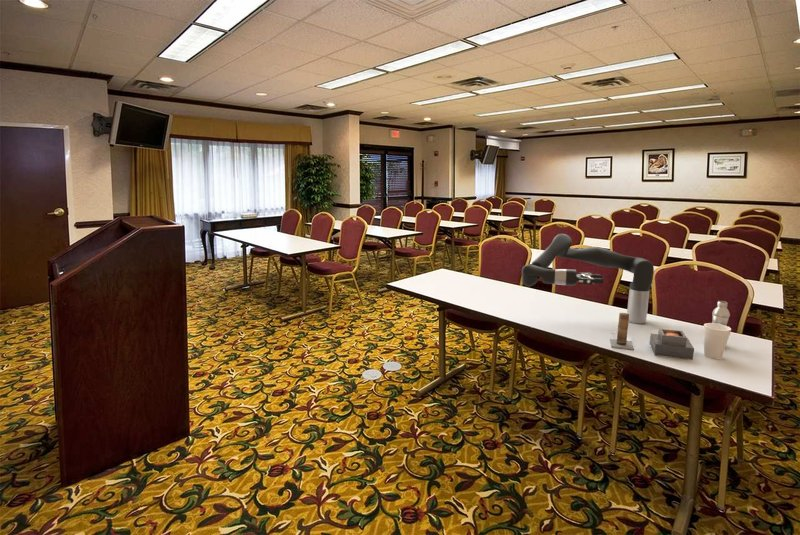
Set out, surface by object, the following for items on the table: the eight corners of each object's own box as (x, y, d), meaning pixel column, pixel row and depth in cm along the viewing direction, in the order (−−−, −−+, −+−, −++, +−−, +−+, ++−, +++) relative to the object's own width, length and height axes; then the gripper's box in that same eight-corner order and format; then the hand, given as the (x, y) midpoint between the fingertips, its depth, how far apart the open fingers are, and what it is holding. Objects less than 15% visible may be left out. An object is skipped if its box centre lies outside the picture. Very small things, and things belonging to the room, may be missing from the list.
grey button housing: (649, 343, 203) (651, 326, 201) (685, 347, 198) (687, 329, 196) (654, 355, 190) (656, 336, 188) (692, 359, 185) (695, 340, 183)
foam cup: (701, 349, 195) (705, 321, 193) (727, 355, 190) (731, 326, 187) (698, 356, 188) (702, 327, 185) (725, 362, 182) (730, 332, 180)
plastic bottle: (721, 342, 204) (727, 300, 200) (727, 347, 198) (734, 304, 194) (705, 341, 206) (711, 299, 202) (711, 346, 199) (717, 303, 195)
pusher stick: (616, 341, 204) (619, 312, 201) (625, 342, 202) (628, 313, 200) (616, 344, 200) (619, 314, 197) (626, 345, 199) (629, 315, 196)
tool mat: (610, 339, 208) (610, 338, 207) (631, 342, 204) (631, 341, 204) (611, 347, 198) (611, 346, 198) (634, 350, 195) (634, 348, 195)
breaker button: (664, 337, 196) (664, 331, 195) (677, 338, 194) (677, 333, 193) (666, 341, 191) (666, 335, 191) (679, 342, 189) (680, 337, 189)
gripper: (565, 272, 203) (604, 274, 197) (565, 266, 216) (602, 268, 210) (564, 288, 204) (603, 290, 198) (565, 281, 217) (601, 283, 211)
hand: (602, 279), depth 204 cm, fingers open, 8 cm apart
